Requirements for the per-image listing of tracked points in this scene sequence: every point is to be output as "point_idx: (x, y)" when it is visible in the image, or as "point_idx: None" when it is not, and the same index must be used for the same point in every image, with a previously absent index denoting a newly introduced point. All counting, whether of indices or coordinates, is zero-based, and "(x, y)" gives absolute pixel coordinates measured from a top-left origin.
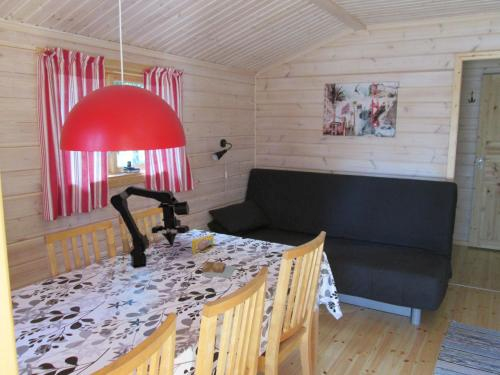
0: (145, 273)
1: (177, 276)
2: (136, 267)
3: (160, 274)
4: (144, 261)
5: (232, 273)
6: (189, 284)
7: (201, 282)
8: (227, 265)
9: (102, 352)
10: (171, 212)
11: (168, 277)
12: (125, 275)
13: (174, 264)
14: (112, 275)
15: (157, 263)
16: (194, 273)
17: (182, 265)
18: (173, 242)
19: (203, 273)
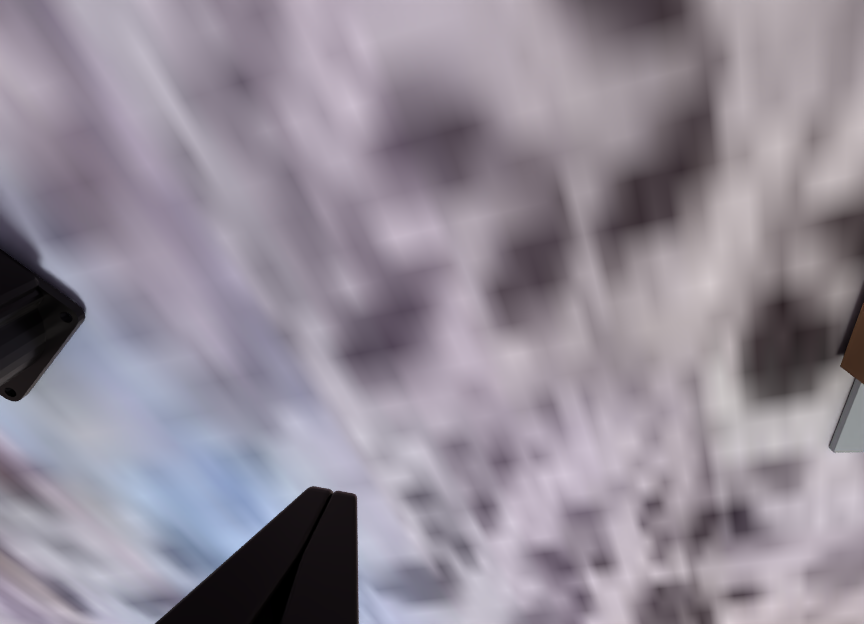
0: (229, 487)
1: (562, 501)
2: (32, 386)
3: (378, 485)
4: (7, 320)
5: None
6: (708, 615)
7: (817, 576)
8: None
9: None
10: None
11: (484, 530)
12: (104, 546)
13: (388, 158)
14: (11, 559)
15: (139, 177)
16: (734, 407)
17: (519, 172)
18: (357, 595)
19: (853, 412)
